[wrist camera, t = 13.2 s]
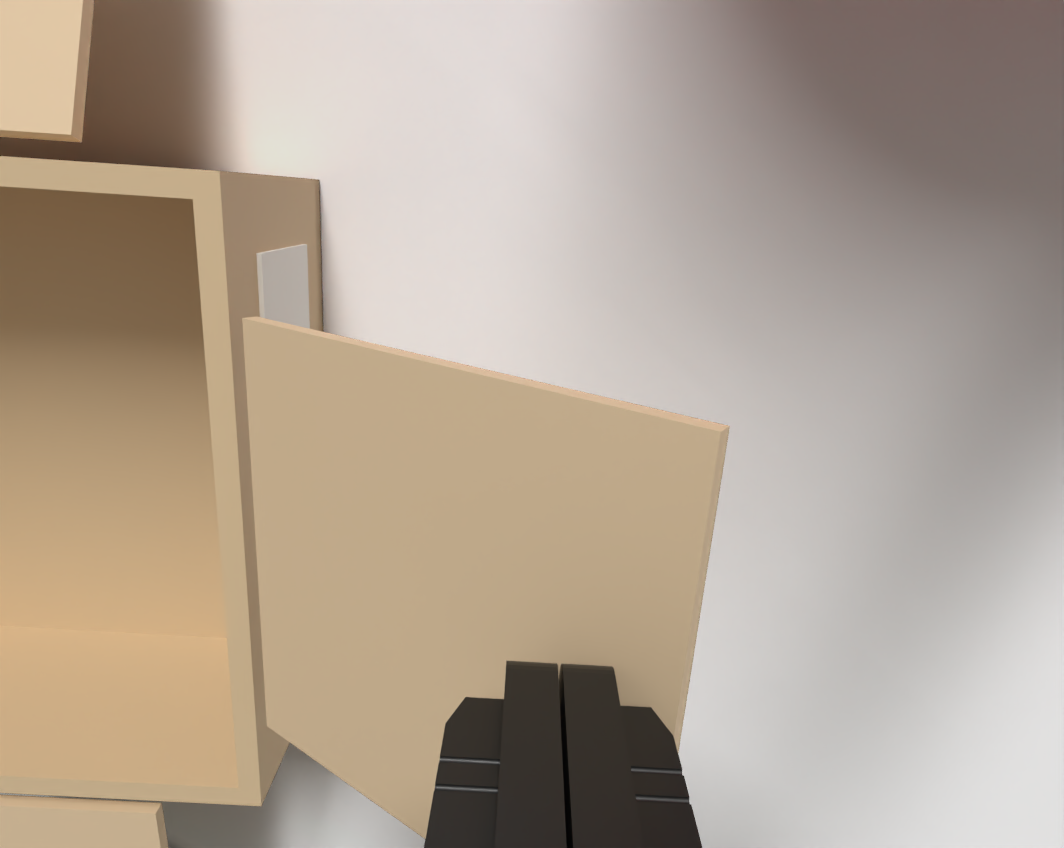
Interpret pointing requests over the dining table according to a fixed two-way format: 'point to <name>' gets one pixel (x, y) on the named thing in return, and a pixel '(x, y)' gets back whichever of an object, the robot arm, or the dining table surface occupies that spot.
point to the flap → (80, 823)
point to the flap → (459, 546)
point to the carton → (131, 446)
